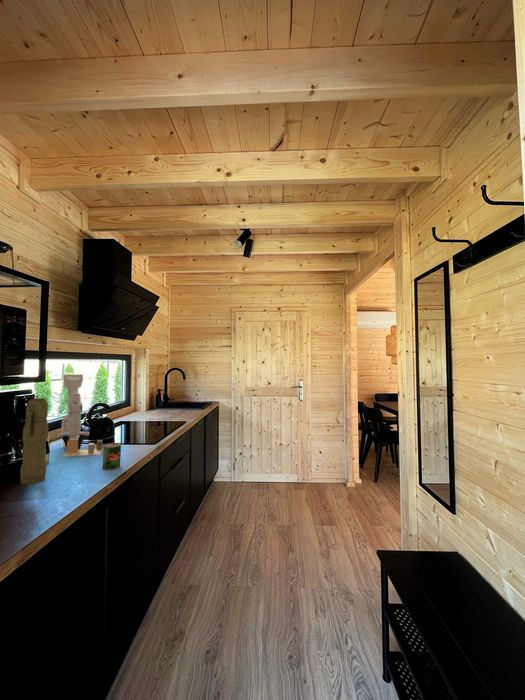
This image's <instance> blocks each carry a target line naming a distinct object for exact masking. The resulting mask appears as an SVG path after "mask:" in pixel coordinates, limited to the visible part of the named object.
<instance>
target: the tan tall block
mask: <svg viewBox="0 0 525 700" xmlns="http://www.w3.org/2000/svg"><path fill="white" fill-rule="evenodd" d="M25 411H26V412H25V418H26V420H25V424H24V426H23V429H22V442H23V449H22V451H23V452H22V464H21V466H20V472H19V473H20V477H19V478H20V483H21V484H20V485H22V484H24V486H30V485H31V484H32V485H37V484H40V483H42V481H43V482H45V480H46V474H47V464H48V463H46V461H45V455H46V441H47V439H48V435H49V424H48V419H47V418H48V411H49V405H48V400H47V398H46V399H45V398H43V397H41V398H40V397H38V398H36V397H35V398H31V399H29V400H28V402H27V404H26V408H25ZM36 483H37V484H36ZM32 485H31V486H32Z"/></svg>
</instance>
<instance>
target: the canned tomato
mask: <svg viewBox="0 0 525 700" xmlns="http://www.w3.org/2000/svg"><path fill="white" fill-rule="evenodd" d="M102 449H103V450H102V453H103V454H102V470H103V471H114V470H117V469H120V467H121V457H122V455H121V454H122V453H121V451H122V443H120V442H110V443H109V442H108V443H106V444H103V447H102Z"/></svg>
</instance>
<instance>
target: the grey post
mask: <svg viewBox="0 0 525 700" xmlns="http://www.w3.org/2000/svg"><path fill="white" fill-rule="evenodd" d="M87 445H88V447H87V448H88V454H91V453H94V449H95V442H93V443H92V442H91V443H88V444H87Z"/></svg>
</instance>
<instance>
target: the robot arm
mask: <svg viewBox="0 0 525 700" xmlns="http://www.w3.org/2000/svg"><path fill="white" fill-rule="evenodd" d="M83 381H84V374H83V373H81V372H80V373H64V375H63V387H64V388H65V389H67V415H66V416H64V417H63V418H62V421H61V432H59V433H58V438H61V437H62V441H63V444H62V446H61V448H65V450H66V451H67V441H68V440H69V439H78V449H80V450H81V446H82V443H83V441H84V438H85V437H86V436H89V435H90V432H89V431H81V429H82V413H83V402H82V399H81V394H80V393H79V389H80V388H81V387H82V385H83Z"/></svg>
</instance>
